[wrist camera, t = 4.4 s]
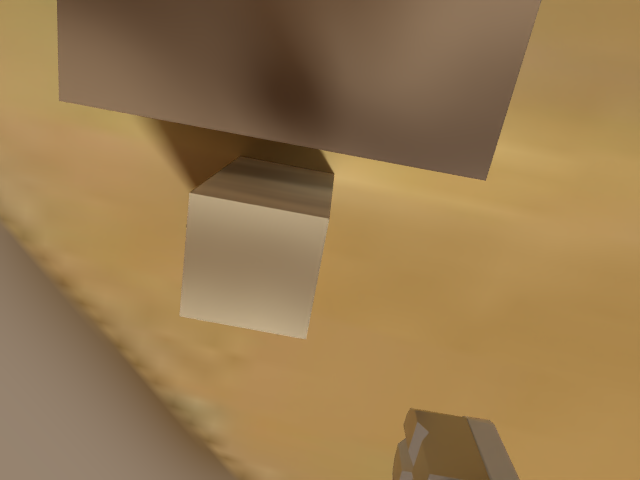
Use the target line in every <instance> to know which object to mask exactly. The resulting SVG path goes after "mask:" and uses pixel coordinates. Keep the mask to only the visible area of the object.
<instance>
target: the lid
mask: <svg viewBox="0 0 640 480" xmlns="http://www.w3.org/2000/svg"><path fill="white" fill-rule="evenodd" d="M540 3H541V0H57V21H58V70H59V101H64V102H69V103H74V104H80V105H85V106H90V107H96V108H101V109H106V110H112V111H117V112H122V113H128V114H133V115H138V116H144V117H149V118H154V119H160V120H165V121H170V122H176V123H181V124H186V125H192V126H197V127H202V128H208V129H213V130H218V131H224V132H229V133H234V134H240V135H245V136H250V137H256V138H261V139H266V140H272V141H277V142H282V143H288V144H293V145H298V146H304V147H309V148H314V149H320V150H325V151H330V152H336V153H341V154H346V155H352V156H357V157H362V158H368V159H373V160H378V161H384V162H389V163H394V164H400V165H405V166H410V167H416V168H421V169H426V170H432V171H437V172H442V173H448V174H453V175H458V176H464V177H469V178H474V179H480V180H485V181H486V178H487V174H488V171H489V168H490V165H491V162H492V158H493V155H494V152H495V149H496V145H497V142H498V139H499V136H500V132H501V129H502V126H503V123H504V119H505V116H506V113H507V110H508V107H509V103H510V100H511V97H512V94H513V90H514V87H515V84H516V81H517V77H518V74H519V71H520V68H521V64H522V61H523V58H524V55H525V51H526V48H527V45H528V42H529V39H530V35H531V32H532V29H533V26H534V22H535V19H536V16H537V13H538V9H539V6H540Z"/></svg>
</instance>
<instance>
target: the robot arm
mask: <svg viewBox="0 0 640 480" xmlns="http://www.w3.org/2000/svg"><path fill="white" fill-rule="evenodd" d="M404 430H405V436H406V438H405V439H404V440H402V441H401V442H400V443H398V446H397V450H396V454H395V458H394V465H393V480H520V479H519V477H518V475H517V473H516V471H515V468H514V466H513V464H512V462H511V460H510V458H509V456H508V453H507V451H506V449H505V447H504V445H503V443H502V441H501V438H500V436H499V434H498V432H497V430H496V428H495V425H494V424H493V423H492V422H491V421H490V420H486V419H480V418H473V417H466V416H463V417H460V416H454V415H449V414H443V413H437V412H431V411H426V410H420V409H414V408H410V410H409V411H408V413H407V415H406V419H405V422H404Z"/></svg>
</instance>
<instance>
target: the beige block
mask: <svg viewBox="0 0 640 480" xmlns="http://www.w3.org/2000/svg"><path fill="white" fill-rule="evenodd" d="M333 181H334V174H332V173H327V172H321V171H316V170H310V169H305V168H300V167H294V166H289V165H284V164H278V163H273V162H268V161H262V160H257V159H252V158H246V157H241V156H240V157H238V158H237V159H236V160H234V161H233V162H232V163H230V164H229V165H227V166H226V167H225V168H223V169H222V170H220V171H219V172H218V173H216V174H215V175H214V176H212V177H211V178H209V179H208V180H207V181H205V182H204V183H202V184H201V185H200V186H198V187H197V188H195V189H194V190H193V191H191V192H190V193H189V205H188V217H187V230H186V242H185V255H184V267H183V280H182V292H181V305H180V316H181V317H187V318H192V319H198V320H203V321H209V322H214V323H220V324H225V325H230V326H236V327H241V328H247V329H252V330H258V331H263V332H269V333H274V334H280V335H285V336H291V337H296V338H302V339H306V336H307V331H308V326H309V321H310V316H311V311H312V305H313V300H314V295H315V290H316V285H317V280H318V274H319V269H320V264H321V259H322V254H323V249H324V243H325V238H326V233H327V228H328V223H329V217H330V208H331V199H332V190H333Z"/></svg>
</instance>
